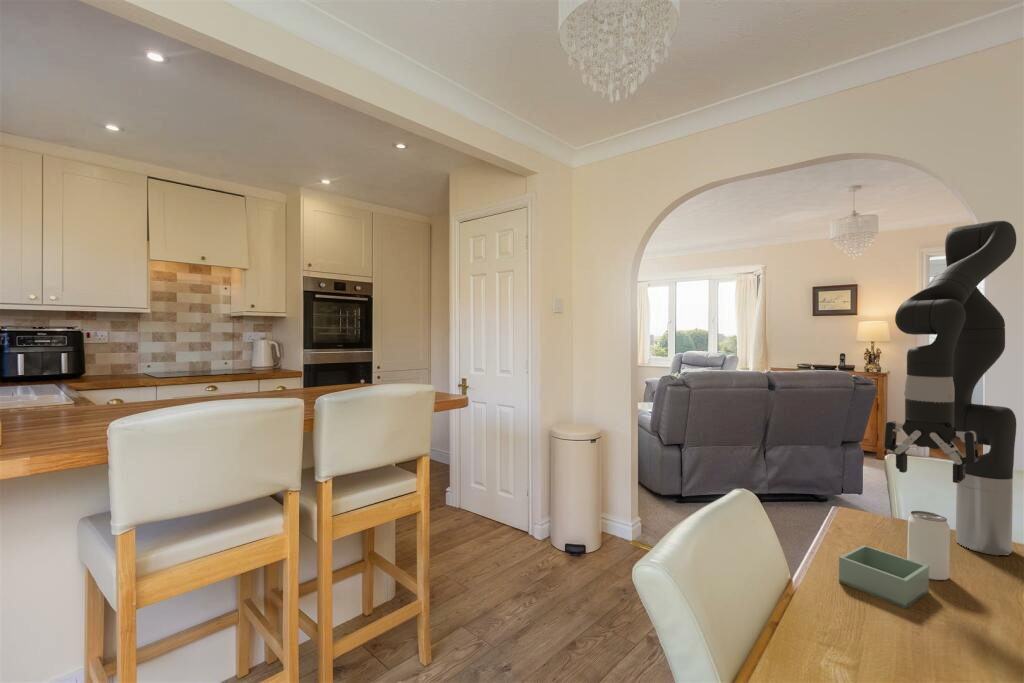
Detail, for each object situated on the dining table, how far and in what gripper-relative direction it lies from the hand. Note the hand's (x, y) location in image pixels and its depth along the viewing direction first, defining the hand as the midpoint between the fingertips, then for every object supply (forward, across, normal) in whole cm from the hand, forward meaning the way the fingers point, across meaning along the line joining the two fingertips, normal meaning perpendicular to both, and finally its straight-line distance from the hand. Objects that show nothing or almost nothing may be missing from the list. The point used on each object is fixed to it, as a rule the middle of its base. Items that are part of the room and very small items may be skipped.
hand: (928, 476), depth 95 cm
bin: (+20, +3, +14) cm, 24 cm away
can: (+20, 0, -1) cm, 21 cm away
